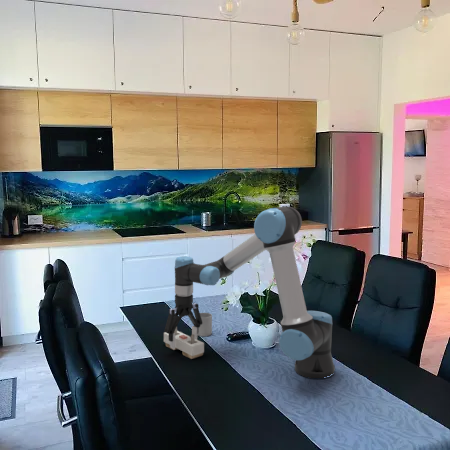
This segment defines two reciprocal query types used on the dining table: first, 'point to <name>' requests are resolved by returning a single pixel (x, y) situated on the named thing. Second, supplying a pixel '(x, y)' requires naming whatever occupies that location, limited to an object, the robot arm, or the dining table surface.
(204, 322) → the cup
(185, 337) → the power strip
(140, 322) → the dining table surface
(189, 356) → the wooden peg stand
